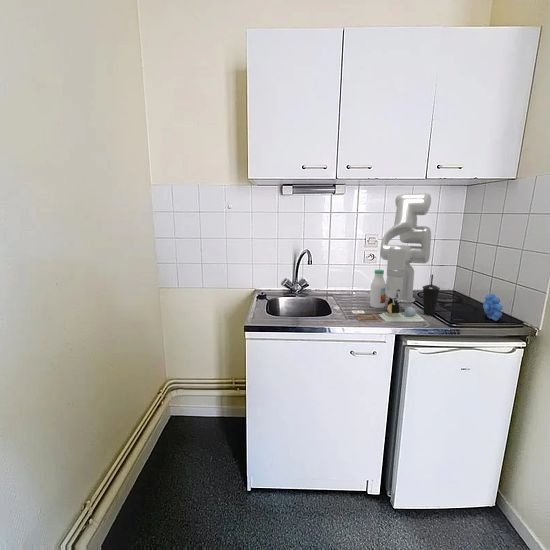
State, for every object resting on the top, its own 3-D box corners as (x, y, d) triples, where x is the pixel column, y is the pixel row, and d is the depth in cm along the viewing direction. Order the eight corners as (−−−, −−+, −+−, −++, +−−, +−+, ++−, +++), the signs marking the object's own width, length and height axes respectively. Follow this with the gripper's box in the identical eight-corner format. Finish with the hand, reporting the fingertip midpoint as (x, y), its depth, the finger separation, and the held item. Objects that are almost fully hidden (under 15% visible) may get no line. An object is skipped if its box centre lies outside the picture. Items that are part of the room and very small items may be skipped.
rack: (378, 314, 150) (378, 312, 150) (415, 314, 149) (415, 311, 149) (385, 321, 140) (385, 318, 140) (425, 321, 140) (425, 318, 139)
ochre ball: (385, 311, 147) (386, 301, 146) (396, 311, 147) (396, 301, 146) (389, 315, 142) (390, 304, 141) (400, 315, 142) (400, 304, 141)
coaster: (354, 315, 150) (354, 313, 150) (374, 315, 150) (374, 313, 150) (359, 321, 140) (359, 319, 140) (381, 321, 140) (381, 319, 140)
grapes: (474, 315, 148) (476, 291, 146) (488, 315, 148) (491, 291, 145) (489, 323, 136) (492, 297, 134) (505, 323, 136) (508, 297, 134)
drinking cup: (416, 312, 153) (419, 273, 149) (428, 311, 155) (431, 272, 152) (429, 317, 146) (432, 276, 142) (441, 315, 148) (445, 275, 145)
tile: (351, 311, 156) (351, 310, 156) (362, 311, 156) (362, 310, 156) (353, 313, 153) (353, 312, 152) (365, 313, 152) (365, 312, 152)
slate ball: (402, 315, 147) (402, 305, 146) (412, 315, 147) (413, 305, 146) (406, 318, 142) (407, 308, 141) (417, 318, 142) (418, 308, 141)
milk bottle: (375, 309, 160) (377, 271, 156) (367, 305, 167) (368, 269, 164) (387, 307, 162) (390, 270, 158) (379, 304, 169) (381, 268, 166)
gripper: (381, 270, 149) (379, 306, 152) (394, 276, 133) (391, 316, 136) (396, 270, 149) (394, 306, 152) (411, 276, 132) (408, 316, 136)
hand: (393, 310), depth 144 cm, fingers closed on ochre ball, 4 cm apart
